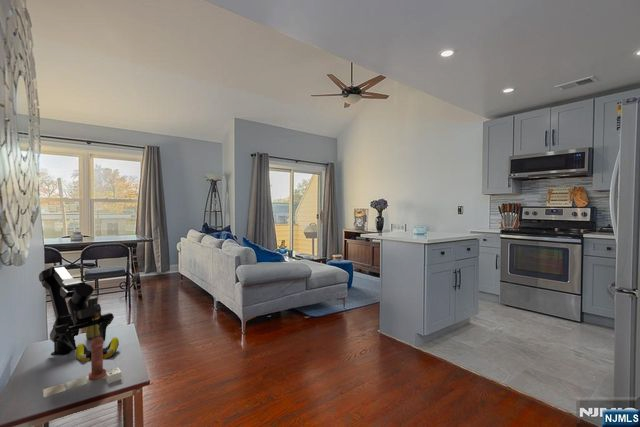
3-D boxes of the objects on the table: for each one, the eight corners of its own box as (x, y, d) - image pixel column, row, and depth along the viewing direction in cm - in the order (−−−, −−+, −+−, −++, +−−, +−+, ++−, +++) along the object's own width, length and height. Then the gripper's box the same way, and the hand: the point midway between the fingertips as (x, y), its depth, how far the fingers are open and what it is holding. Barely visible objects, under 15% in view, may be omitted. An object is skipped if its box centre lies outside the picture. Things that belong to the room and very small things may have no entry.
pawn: (86, 381, 109) (85, 341, 108) (91, 373, 114) (91, 335, 113) (103, 378, 111) (103, 339, 110) (107, 371, 116) (107, 333, 115)
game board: (41, 402, 99) (41, 399, 99) (39, 386, 107) (39, 382, 107) (110, 379, 112) (110, 376, 112) (104, 366, 121) (104, 363, 121)
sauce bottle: (101, 333, 149) (101, 294, 148) (102, 338, 144) (102, 297, 143) (84, 337, 145) (84, 296, 144) (85, 342, 140) (85, 300, 139)
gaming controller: (76, 355, 128) (73, 367, 120) (76, 343, 128) (73, 353, 120) (118, 347, 137) (118, 357, 128) (118, 335, 136) (118, 344, 128)
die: (107, 386, 108) (107, 375, 108) (105, 381, 111) (105, 371, 111) (121, 382, 111) (121, 371, 111) (118, 377, 114) (118, 367, 114)
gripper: (54, 305, 110) (64, 344, 104) (112, 293, 125) (124, 326, 120) (47, 321, 115) (57, 359, 109) (103, 307, 130) (115, 340, 124)
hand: (90, 345), depth 115 cm, fingers open, 9 cm apart
